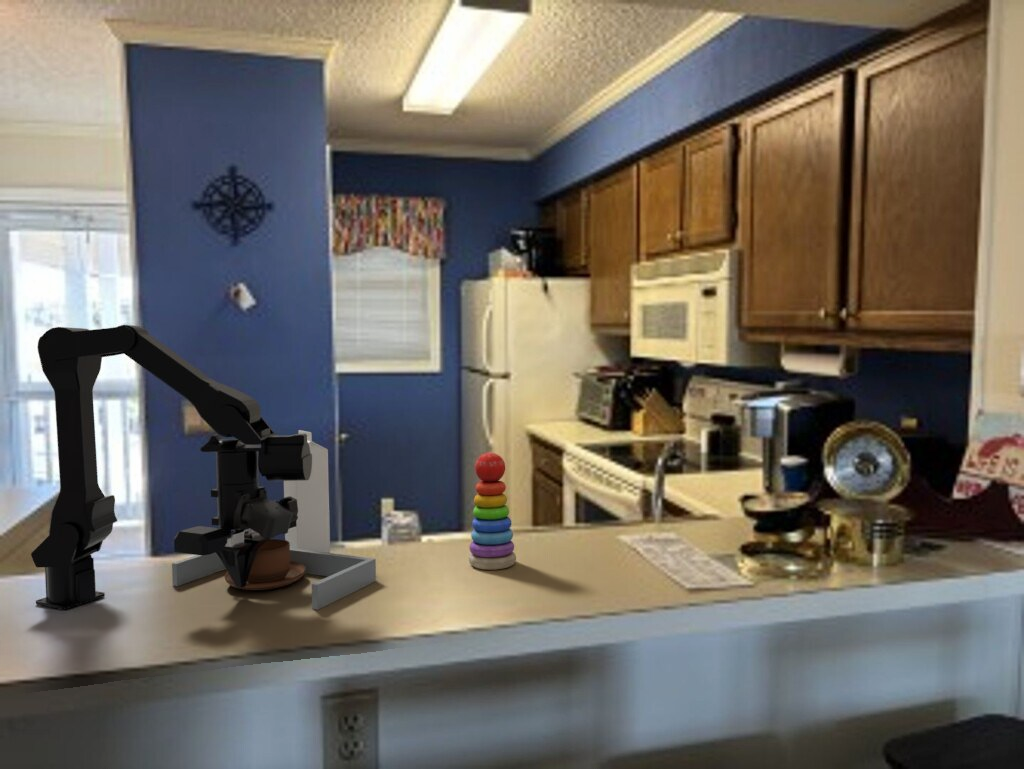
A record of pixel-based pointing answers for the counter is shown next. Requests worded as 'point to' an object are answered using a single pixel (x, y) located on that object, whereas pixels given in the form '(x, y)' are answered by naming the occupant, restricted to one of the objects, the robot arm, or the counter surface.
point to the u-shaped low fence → (340, 568)
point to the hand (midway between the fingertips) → (240, 587)
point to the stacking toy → (491, 517)
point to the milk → (311, 503)
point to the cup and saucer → (271, 567)
